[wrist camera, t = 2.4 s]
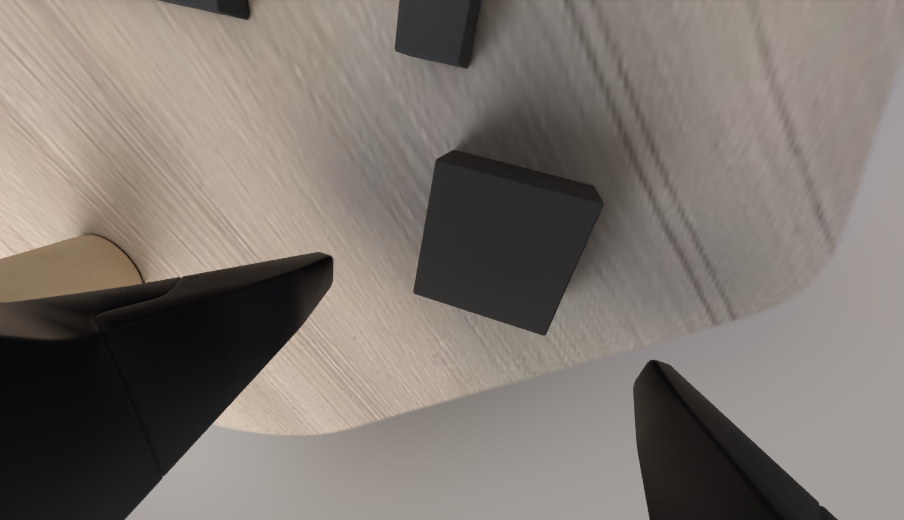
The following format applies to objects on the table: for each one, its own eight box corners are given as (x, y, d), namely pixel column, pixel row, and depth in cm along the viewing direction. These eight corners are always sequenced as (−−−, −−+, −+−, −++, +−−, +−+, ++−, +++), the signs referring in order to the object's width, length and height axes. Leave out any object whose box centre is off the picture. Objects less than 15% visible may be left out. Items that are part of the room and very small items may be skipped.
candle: (158, 302, 24) (-65, 418, 15) (108, 301, 25) (-119, 406, 17) (116, 231, 22) (-173, 319, 13) (64, 235, 23) (-223, 316, 15)
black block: (594, 186, 13) (604, 203, 11) (545, 304, 16) (545, 336, 14) (452, 149, 14) (435, 158, 12) (429, 268, 17) (412, 293, 15)
